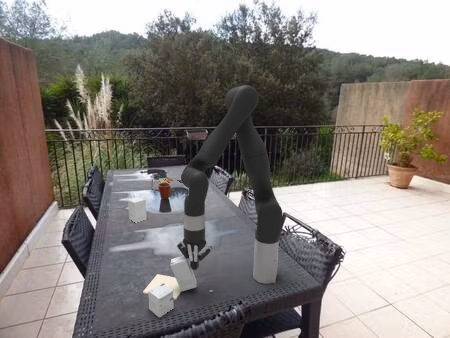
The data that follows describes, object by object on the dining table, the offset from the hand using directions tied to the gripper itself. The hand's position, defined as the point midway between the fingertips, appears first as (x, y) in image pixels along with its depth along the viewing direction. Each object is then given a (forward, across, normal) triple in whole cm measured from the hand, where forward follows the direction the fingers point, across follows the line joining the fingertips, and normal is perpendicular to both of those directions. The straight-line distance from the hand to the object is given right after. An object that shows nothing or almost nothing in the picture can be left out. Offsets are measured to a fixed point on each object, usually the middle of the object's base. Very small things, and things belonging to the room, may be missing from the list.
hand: (194, 268), depth 103 cm
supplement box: (+10, +53, -49) cm, 73 cm away
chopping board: (+11, +68, -120) cm, 138 cm away
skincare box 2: (+8, +2, 0) cm, 9 cm away
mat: (+10, +11, +1) cm, 15 cm away
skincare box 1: (+10, +8, +11) cm, 17 cm away
